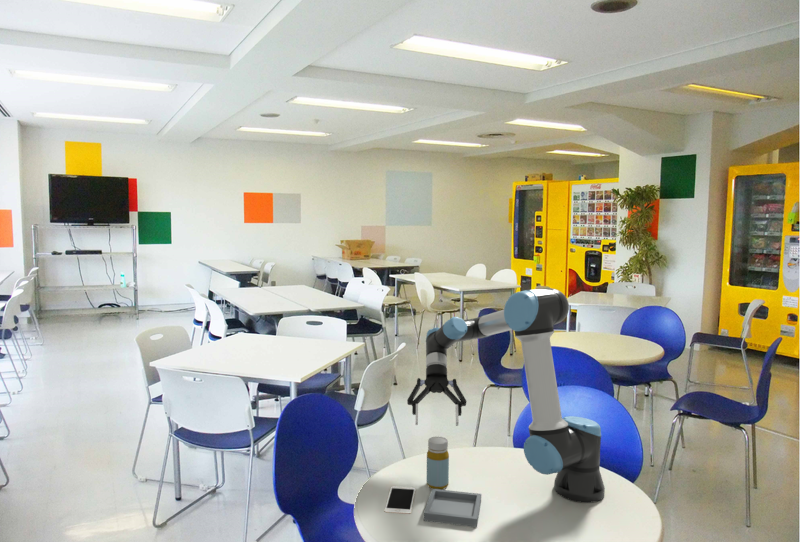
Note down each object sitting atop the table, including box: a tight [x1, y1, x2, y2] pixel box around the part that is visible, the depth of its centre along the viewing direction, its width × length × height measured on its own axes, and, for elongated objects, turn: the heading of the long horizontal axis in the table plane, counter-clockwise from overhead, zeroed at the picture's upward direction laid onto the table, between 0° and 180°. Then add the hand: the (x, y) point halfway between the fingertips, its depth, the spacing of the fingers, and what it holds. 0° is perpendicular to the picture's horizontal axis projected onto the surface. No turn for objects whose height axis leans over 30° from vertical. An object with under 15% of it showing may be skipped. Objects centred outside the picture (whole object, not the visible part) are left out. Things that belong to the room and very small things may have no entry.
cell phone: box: [383, 485, 417, 515], centre depth 177 cm, size 8×16×1 cm, turn 173°
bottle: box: [426, 436, 450, 490], centre depth 186 cm, size 7×7×15 cm
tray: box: [423, 489, 482, 528], centre depth 170 cm, size 15×15×2 cm
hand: (436, 423), depth 195 cm, fingers open, 13 cm apart
